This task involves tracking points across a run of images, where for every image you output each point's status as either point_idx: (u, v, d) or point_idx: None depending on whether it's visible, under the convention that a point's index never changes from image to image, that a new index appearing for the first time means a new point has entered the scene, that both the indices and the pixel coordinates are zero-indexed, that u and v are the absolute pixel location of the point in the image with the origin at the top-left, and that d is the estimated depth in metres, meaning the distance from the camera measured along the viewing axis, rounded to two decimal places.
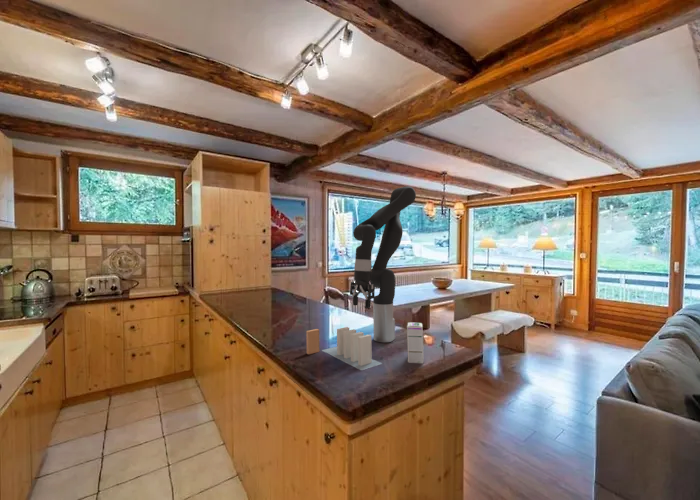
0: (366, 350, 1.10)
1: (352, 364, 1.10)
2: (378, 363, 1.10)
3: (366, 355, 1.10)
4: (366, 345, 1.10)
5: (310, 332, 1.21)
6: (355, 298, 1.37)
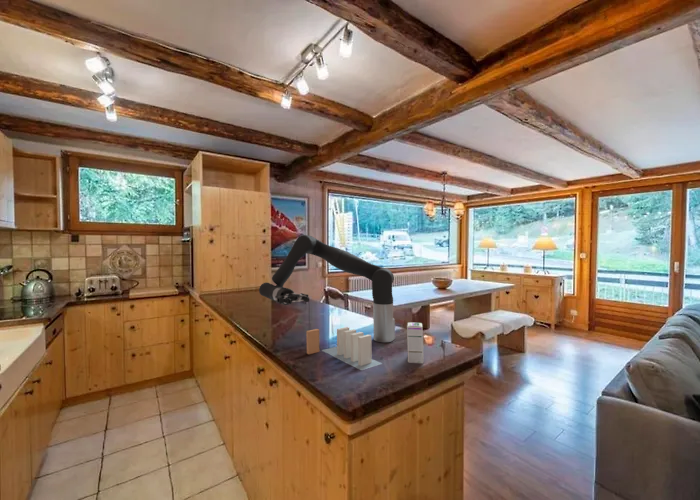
0: (366, 350, 1.10)
1: (352, 364, 1.10)
2: (378, 363, 1.10)
3: (366, 355, 1.10)
4: (366, 345, 1.10)
5: (310, 332, 1.21)
6: (304, 299, 1.36)
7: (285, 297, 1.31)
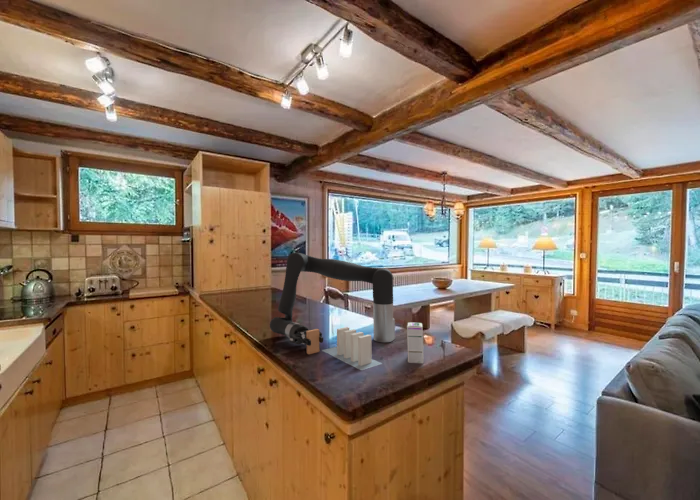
0: (366, 350, 1.10)
1: (352, 364, 1.10)
2: (378, 363, 1.10)
3: (366, 355, 1.10)
4: (366, 345, 1.10)
5: (310, 332, 1.21)
6: None
7: (304, 337, 1.22)
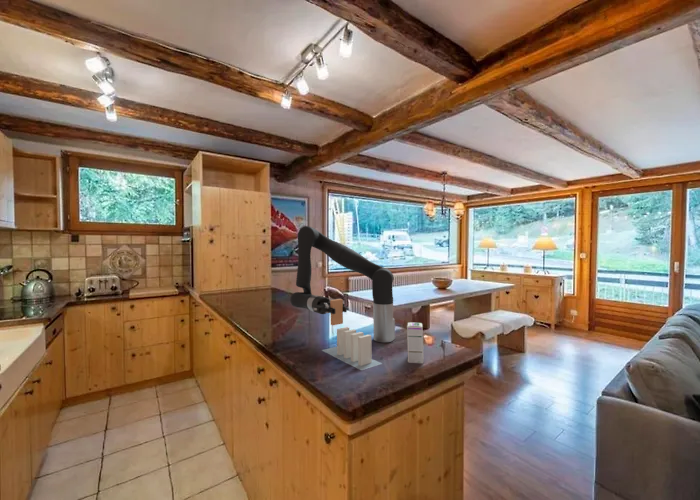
0: (366, 350, 1.10)
1: (352, 364, 1.10)
2: (378, 363, 1.10)
3: (366, 355, 1.10)
4: (366, 345, 1.10)
5: (334, 301, 1.23)
6: None
7: (328, 306, 1.24)
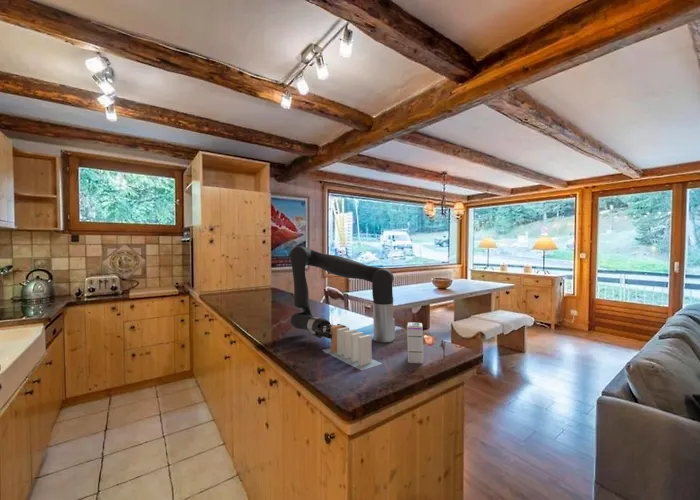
0: (366, 350, 1.10)
1: (352, 364, 1.10)
2: (378, 363, 1.10)
3: (366, 355, 1.10)
4: (366, 345, 1.10)
5: (334, 328, 1.23)
6: None
7: (324, 331, 1.24)
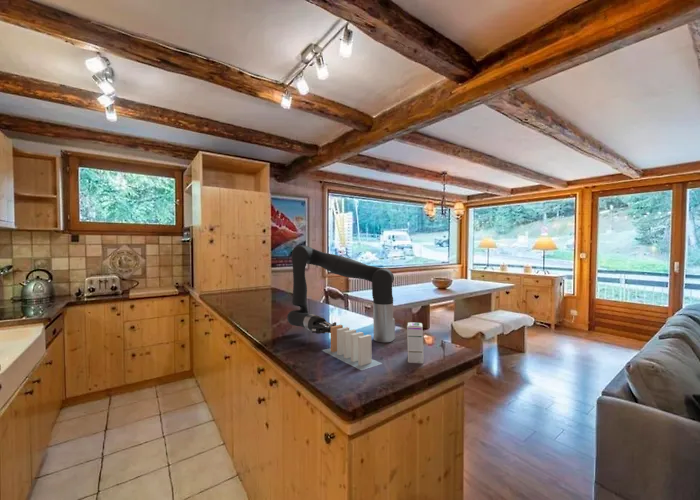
0: (366, 350, 1.10)
1: (352, 364, 1.10)
2: (378, 363, 1.10)
3: (366, 355, 1.10)
4: (366, 345, 1.10)
5: (334, 328, 1.23)
6: None
7: (328, 326, 1.29)
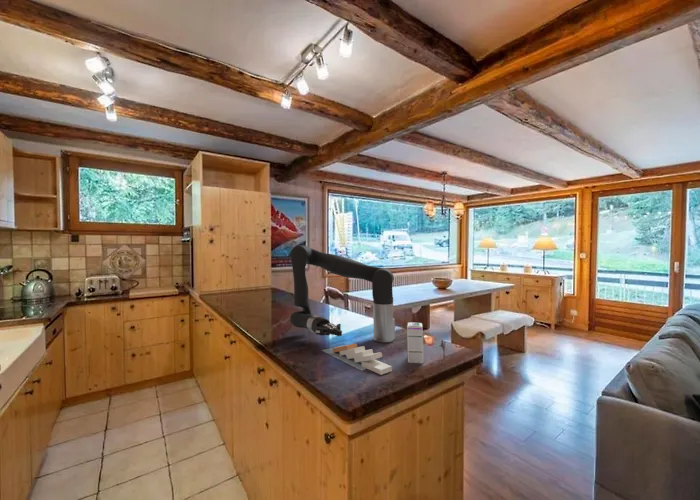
0: None
1: (352, 364, 1.10)
2: None
3: None
4: None
5: (348, 349, 1.16)
6: None
7: (333, 328, 1.26)
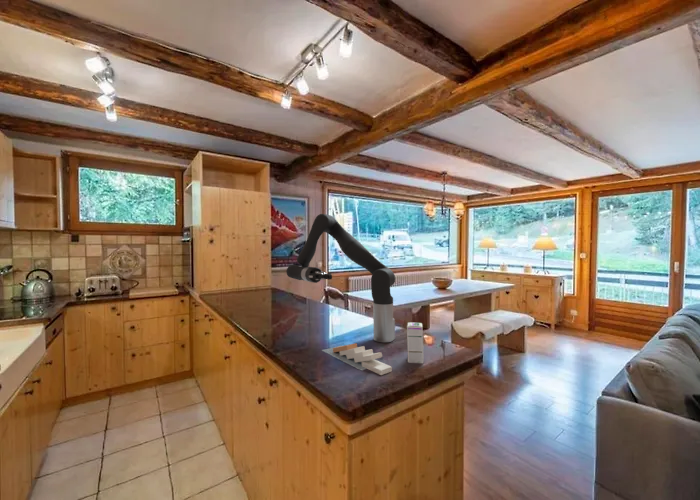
0: None
1: (352, 364, 1.10)
2: None
3: None
4: None
5: (348, 349, 1.16)
6: None
7: (324, 273, 1.40)
